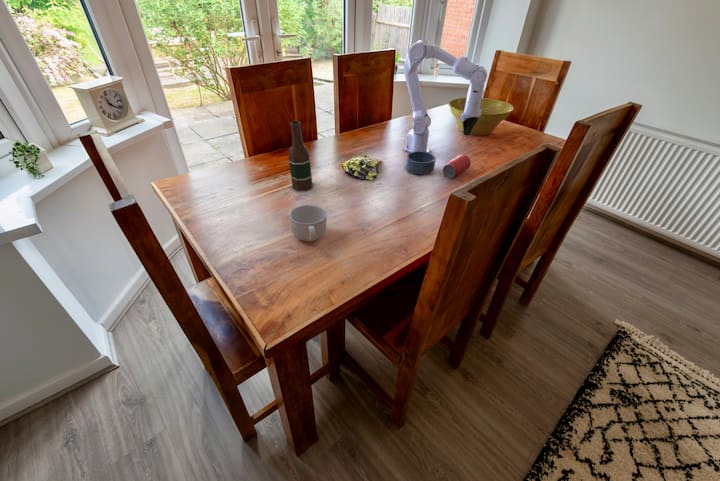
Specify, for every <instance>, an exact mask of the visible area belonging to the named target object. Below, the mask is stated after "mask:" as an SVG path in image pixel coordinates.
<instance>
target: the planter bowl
mask: <svg viewBox="0 0 720 481" xmlns="http://www.w3.org/2000/svg"><path fill="white" fill-rule="evenodd" d="M466 100H467V97H459V98H458V97H457V98H454V99H451V100H450V101H448V102H447V105H448V106H449V108H450V112H451V114H452V116H454V117H455V121H456V124H457V126H458V129H459V130H461V131H462V132H463V133H464V131H463V123H462V122H461V121H459V116H461V115H462V113H463V112H464V110H465V105H466ZM479 109H481V110H482V113H481V116H480V117H477V118H478V121H477V122H476V123H475V125H474V127H473V129H472V131H471V133H470V135H473V136H485V135H488V134H489V133H492V132H493V131H495V129H496V128H497V127H498V125H499V124H500V123H501V122H502V121H505V120H506V119H507V118H508V117H509V116H510V115H511V113H513V111H514V110H515V107H514V106H513V105H512V104H511V103H508V102H506V101H503V100H500V99H494V98H488V97H487V98H486V97H482V99H481V104H480V108H479Z"/></svg>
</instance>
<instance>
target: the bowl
mask: <svg viewBox="0 0 720 481" xmlns="http://www.w3.org/2000/svg"><path fill="white" fill-rule="evenodd" d="M436 160H437V159H436V155H434V154H433V153H431V152H422V151H416V152H408V153H407V154H406V160H405V169H406V171H408V172H409V173H412V174H415V175H429V174H431V173H433V172H434V171H435V166H436Z"/></svg>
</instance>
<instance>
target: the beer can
mask: <svg viewBox="0 0 720 481" xmlns="http://www.w3.org/2000/svg"><path fill="white" fill-rule="evenodd" d="M471 164H472V162H471V159H470V157H469V156H468V155H467V154H459V155H458V156H456V157H454V158H452V159H451V160H449V161H448V162H446V163H445V165H444V166H443V168H442V173H443V175H444V177H445V178H446V179H454V178H457V177H458V176H459V175H461V174H463V173H464V172H466V171H467V170H468V169H470V168H471Z"/></svg>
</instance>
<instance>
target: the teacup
mask: <svg viewBox="0 0 720 481" xmlns="http://www.w3.org/2000/svg"><path fill="white" fill-rule="evenodd" d="M327 216H328V213H327V210H326V209H325V208H323V207H322V206H319V205H315V204H303V205H298V206H296V207H294V208H292V209H291V210H290V211H289V214H288V217H289V224H290V230H291V233H292V235H293V237H296V238H297V239H298V240H301V241H303V242H314V241H315V242H316V240H318V239H321V238H322V237H323V236H324V235H325V233H326V230H327V221H328V220H327Z"/></svg>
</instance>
